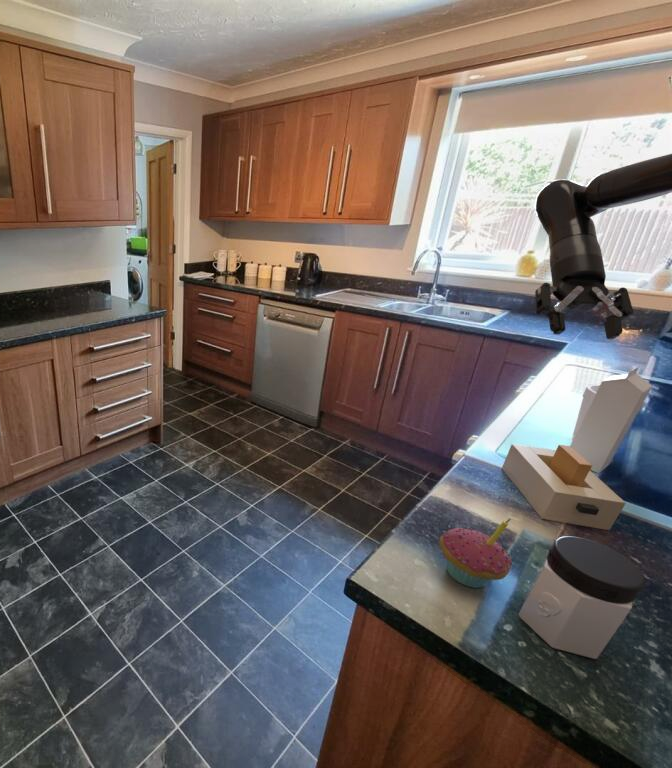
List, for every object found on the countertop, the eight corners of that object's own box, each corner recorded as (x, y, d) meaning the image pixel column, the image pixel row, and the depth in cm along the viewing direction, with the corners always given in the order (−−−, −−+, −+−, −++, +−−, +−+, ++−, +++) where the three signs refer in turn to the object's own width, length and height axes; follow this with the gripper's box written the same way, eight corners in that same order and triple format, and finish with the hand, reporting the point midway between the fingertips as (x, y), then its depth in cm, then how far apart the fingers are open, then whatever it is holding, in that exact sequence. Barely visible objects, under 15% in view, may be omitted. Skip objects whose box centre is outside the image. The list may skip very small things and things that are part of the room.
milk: (562, 459, 93) (607, 366, 84) (573, 451, 96) (618, 360, 86) (599, 474, 88) (651, 376, 79) (609, 465, 91) (660, 370, 82)
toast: (550, 485, 82) (570, 446, 79) (570, 506, 77) (592, 465, 73) (540, 483, 83) (558, 444, 79) (558, 504, 77) (579, 463, 73)
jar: (501, 602, 59) (533, 537, 54) (548, 593, 61) (584, 529, 56) (568, 666, 51) (614, 597, 46) (621, 654, 53) (670, 585, 48)
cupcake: (498, 569, 64) (528, 507, 60) (501, 610, 58) (534, 545, 53) (433, 545, 69) (456, 485, 64) (429, 580, 62) (454, 517, 57)
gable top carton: (575, 449, 96) (601, 398, 91) (555, 430, 104) (578, 382, 99) (628, 457, 94) (657, 405, 88) (603, 437, 102) (628, 388, 96)
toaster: (501, 468, 89) (511, 443, 87) (557, 476, 87) (569, 451, 84) (545, 523, 74) (559, 496, 72) (614, 535, 72) (631, 507, 69)
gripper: (546, 250, 83) (555, 321, 78) (634, 254, 80) (650, 329, 75) (523, 273, 90) (530, 340, 85) (603, 277, 87) (616, 347, 82)
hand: (586, 335), depth 80 cm, fingers open, 8 cm apart
